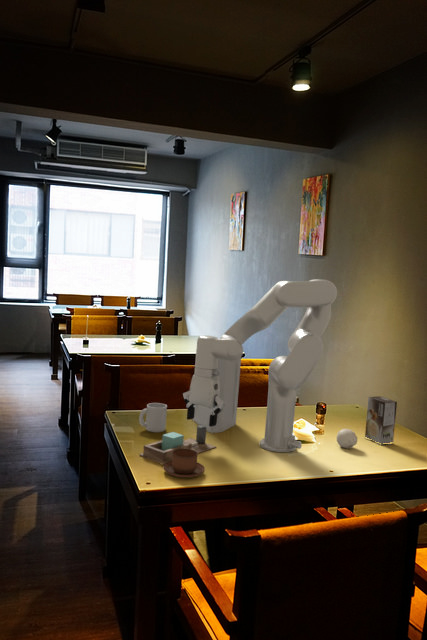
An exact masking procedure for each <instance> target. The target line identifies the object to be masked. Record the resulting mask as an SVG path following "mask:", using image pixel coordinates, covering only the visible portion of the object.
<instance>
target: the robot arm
mask: <svg viewBox="0 0 427 640" xmlns="http://www.w3.org/2000/svg"><path fill="white" fill-rule="evenodd" d="M337 296H338V288H337V287H336V285H335V284H334V282H332V281H330V280H328V279H320V278H319V279H318V278H315V279H310V280H305V281H302V280H299V281H297V280H296V281H295V280H293V281H291V280H280V281H278V282H277V283H275V285H273V286H272V287H271V288H270V289H269V290H268V291H266V293H265V294H264V295H263V296H262V297H261V298H260V299H259V300H258V302H256V303H255V305H254V306H252V307H251V308H250V309H249V310H248V311H247V312H246V313H244V314H243V315H242V316H241V317H240V318H238V319H237V320H236V321H235V322H234V323H233V324H232V325H231V326H230V327H229V328H228V329H227V330H226V331H225V332H224V333H223V334H222V335H221V336H220V337H218V336H215V335H214V336H213V335H200V336H198V338H197V340H196V349H195V350H196V351H195V360H194V361H195V364H194V374H193V375H192V377H191V381H190V386H189V390H187V391H186V392H183V393H182V395H183V396H182V397H183V399H184V400H183V401H184V403H185V407H186V408H187V409H186V420H188V421H189V420H192V419H193V418H194V413H195V407H193V406H194V405H198V406H202V407H205V408H209V410H210V412H211V415H210V420H209V426H210V427H212V426H215V425H216V423H217V414H219V413H220V412H221V411H222V409H223V407H224V406H225V403H224V402H223V401H222V400H221V399H220V398H219V395H220V389H219V379H218V378H216V377H217V376H219V372H217V366H218V358H219V359H224V360H229V361H234V360H237V359H239V358H240V357H241V358H242V356H243V353H244V347H243V344H244V343H245V342H246V341H247V340H249V339H250V338H251V337H252V336H253V335H255V334H257V333H259V332H261V331H264V330H266V329H267V328H270V327H271V325H273V324H274V323H275V321H276V320H277V319H278V318H279V317H280V316H281V315H282V314H283V313H284V312H285V311H287V309H288V308H306V311H305V313H304V316H303V317H302V319H301V321H299V324H297V327H296V328H295V329H294V331H293V333H292V334H291V335H290V337H289V339H288V341H287V348H288V351H289V353H288V355H279V356H277V357H275V358H274V359H272V361H271V362H270V364H269V367H268V374H267V375H268V378H267V379H268V392H267V406H266V413H265V414H266V415H265V427H264V438H262V439H260V440H259V443H258V444H259V446H260V448H261V449H264V450H265V451H269V452H274V453H290V452H291V453H292V452H294V451H295V450H296V449H298V450H300V449H302V441H300V440H296V435H294V434H293V433H294V423H295V422H294V421H295V412H296V401H297V389H298V388H301V387H302V386H303V384H305V382H306V381H307V380H308V378H309V376H310V375H311V374H312V372H313V370H314V369H315V367H316V365H317V364H318V362H319V360H320V359H321V358H322V355H323V353H324V352H323V351H324V343H323V340H322V339H321V338H322V336H323V334H324V332H325V331H326V329H327V328H328V325H329V323H330V321H331V318H332V304H333V303H334V302H335V301H336V299H337ZM218 405H219V406H218ZM217 406H218V408H217Z"/></svg>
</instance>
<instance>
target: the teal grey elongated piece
mask: <svg viewBox="0 0 427 640" xmlns="http://www.w3.org/2000/svg"><path fill="white" fill-rule="evenodd" d="M206 428H207V427H206V426H202V425H199V424H198V425H197V426H196V435H195V436H196V437H195V440H196V442H195V443H192V445H195V444H205V443H206V439H207V437H206V436H207V430H206ZM184 436H185V435H184V434H181V433H178V432H175V431H172V432H168V433H164V434H162V438H161V441H162V451H165V450H168V449H171V448H174V447H177V446H181V445H183V441H184V438H185V437H184Z"/></svg>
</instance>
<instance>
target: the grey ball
mask: <svg viewBox="0 0 427 640" xmlns="http://www.w3.org/2000/svg"><path fill="white" fill-rule="evenodd" d="M336 443H337V444H338V446H340V447H341V448H344V449H351V448H353V447H354V446H355V445H357V444H358V436H357V434H356V433H355V432H354V431H353V430H352V429H350V428H342V429H340V430H338V432H337V434H336Z"/></svg>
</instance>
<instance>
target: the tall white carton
mask: <svg viewBox="0 0 427 640" xmlns="http://www.w3.org/2000/svg"><path fill="white" fill-rule="evenodd" d="M241 363H242V356H241V357H240V358H239V359H237V360H234V361H229V360H224V359H219V358H218V366H217V372H219V376H217V377H216V378H218V379H219V389H220V395H219V398H220V399H221V400H222V401H223V402H224V403H225V406H224V407H223V409H222V411H221V412H220V413H219V414H217V423H216V425H215V426H212V427H210V426H209V420H210V415H211V412H210V410H209V408H205V407H202V406H198V405H194V406H193V407H195V413H194V418H193V419H191V420H192V421H194V423H196V424H197V425H198V426H199V425H202V426H206V427H207V428H206V432H208V433H210V434H211V433H223V432H224V431H226V430H228V429H230V428H232V427H234V426H236V424H237V412H238V400H239V388H240V376H241ZM218 406H219V405H218ZM218 406H217V408H218Z"/></svg>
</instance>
